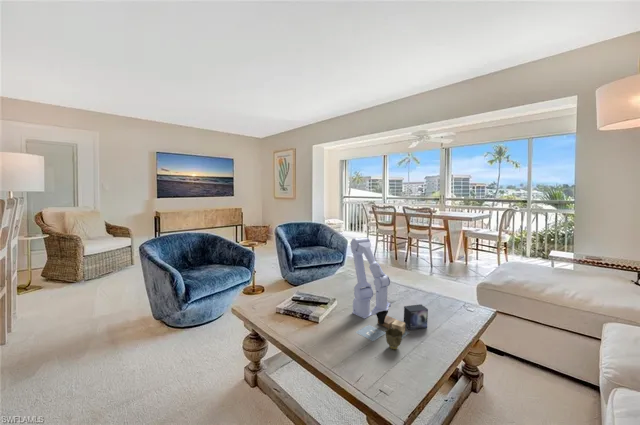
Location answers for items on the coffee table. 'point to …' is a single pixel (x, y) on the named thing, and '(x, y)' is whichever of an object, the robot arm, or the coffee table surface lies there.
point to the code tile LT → (370, 332)
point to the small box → (415, 317)
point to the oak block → (399, 325)
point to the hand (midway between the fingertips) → (381, 323)
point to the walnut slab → (388, 322)
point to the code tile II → (405, 334)
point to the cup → (393, 338)
